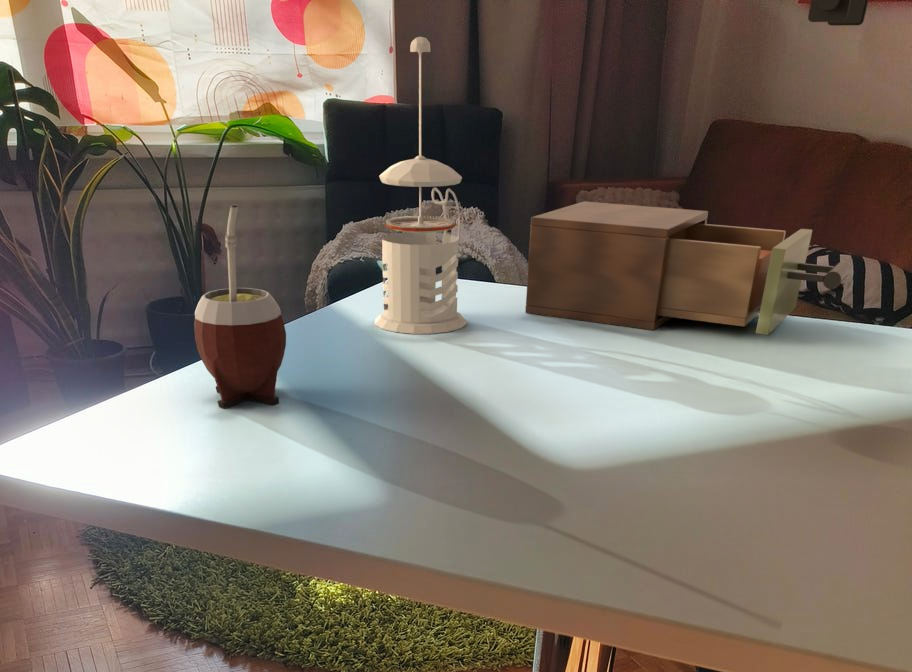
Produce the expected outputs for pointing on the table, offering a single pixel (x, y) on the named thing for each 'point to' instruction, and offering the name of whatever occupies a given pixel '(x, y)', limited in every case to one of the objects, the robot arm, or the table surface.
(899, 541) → the table surface
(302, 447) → the table surface
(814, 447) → the table surface
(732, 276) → the drawer
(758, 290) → the block
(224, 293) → the mate gourd
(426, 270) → the french press
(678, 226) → the cabinet
